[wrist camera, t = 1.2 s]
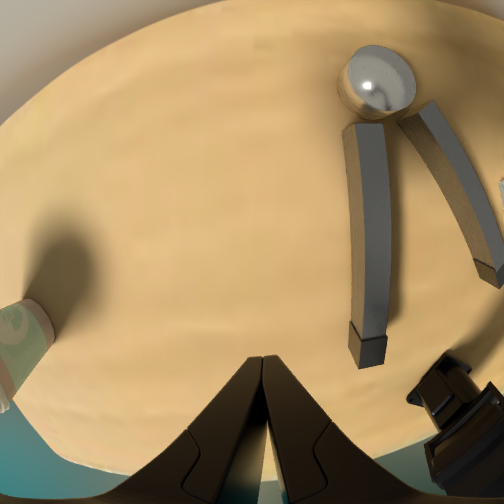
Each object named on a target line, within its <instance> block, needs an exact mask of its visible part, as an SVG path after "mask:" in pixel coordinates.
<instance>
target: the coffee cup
mask: <svg viewBox="0 0 504 504" xmlns="http://www.w3.org/2000/svg"><path fill="white" fill-rule="evenodd" d="M54 339H55V334H54V329H53V326H52V323H51V321H50V319H49V317H48V315H47V314H46V312H45V311H44V310H43V308H42V307H41V306H40V305H39V304H38V303H37V302H35V301H34V300H32V299H24V300H21V301H19V302H16V303H14V304H12V305H9V306H7V307H5V308H3V309H0V413H4V412H5V410H8V409H9V402H10V401H11V399H12V398H13V397H14V395H15V394H16V392H17V391H18V390H19V388H20V387H21V385H22V384H23V382H24V381H25V380H26V378H27V377H28V376H29V374H30V373H31V372H32V370H33V369H34V368H35V366H36V365H37V364H38V362H39V361H40V360H41V358H42V357H43V356H44V355H45V353H46V352H47V351H48V349H49V348H50V347H51V346H52V344H53V343H54Z"/></svg>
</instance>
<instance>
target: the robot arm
mask: <svg viewBox="0 0 504 504" xmlns="http://www.w3.org/2000/svg"><path fill="white" fill-rule="evenodd" d="M471 370H472V367H471V366H470V365H468V364H466V363H464V362H462V361H460V360H458V359H457V358H455V357H453V356H451V355H449V354H447V353H446V354H444V355H443V356H442V357H441V358H440V359H439V361H438V362H437V363H436V364H435V366H434V367H433V368H432V369H431V371H430V372H429V373H428V374H427V375H426V377H425V378H424V379H423V380H422V381H421V382H420V383H419V385H418V386H417V387H416V388H415V389H414V390H413V391H412V392H411V393H410V395H409V396H408V397H407V398H406V401H407V403H409V404H413V405H417V406H420V407H424V408H425V410H426V411H427V413H428V415H429V416H430V418H431V420H432V422H433V424H434V425H435V427H436V429H437V431H438V434H437V435H436V436H435V437H433V439H431V440H430V441H427V442H426V443H425V444H424V448H425V455H426V459H427V463H428V467H429V471H430V475H431V479H432V482H433V483H434V484H437V485H438V486H439V487H440V488H441V489H443V490H445V491H446V493H447V496H445V495H438V494H431V493H426V492H423V491H420V490H417V489H415V488H413V487H411V486H409V485H407V484H406V483H404V482H403V481H401V480H400V479H399V478H397V477H396V476H394V475H393V474H392V473H390V472H389V471H387V470H386V469H385V468H384V467H382V466H381V465H380V464H378V463H377V462H375V461H374V460H373V459H372V458H371V457H369V456H368V455H367V454H366V453H364V452H363V451H362V450H361V449H360V448H359V447H357V446H356V445H355V444H354V443H353V442H352V441H351V440H350V439H349V438H348V437H347V436H346V435H345V434H344V433H343V432H342V431H341V430H340V429H339V427H338V426H337V425H336V424H335V423H334V422H332V420H331V419H330V417H329V416H328V415H327V414H326V413H325V412H324V410H323V409H322V408H321V407H320V406H319V405H318V403H317V402H316V401H315V400H314V399H313V397H312V396H311V395H310V394H309V393H308V392H307V390H306V389H305V388H304V387H303V386H302V384H301V383H300V382H299V381H298V380H297V378H296V377H295V376H294V375H293V373H292V372H291V371H290V370H289V369H288V367H287V366H286V365H285V364H284V362H283V361H282V360H281V359H280V357H279V356H278V355H269V356H264V357H261V356H257V357H249V358H247V360H246V361H245V362H244V363H243V364H242V366H241V367H240V368H239V369H238V370H237V372H236V373H235V374H234V375H233V376H232V377H231V379H230V380H229V381H228V382H227V383H226V385H225V386H224V387H223V388H222V389H221V390H220V391H219V393H218V394H217V395H216V396H215V397H214V398H213V399H212V401H211V402H210V403H209V404H208V405H207V406H206V407H205V408H204V410H203V411H202V412H201V413H200V414H199V415H198V416H197V417H196V418H195V419H194V421H193V422H192V423H191V424H190V425H189V426H188V427H187V429H185V430H184V431H183V432H182V433H181V434H180V435H179V436H178V437H177V438H176V439H175V440H174V441H173V442H172V443H171V444H170V445H169V446H168V447H167V448H166V449H165V450H164V451H163V452H162V453H160V454H159V455H158V456H157V457H156V458H154V459H153V460H152V461H151V462H149V463H148V464H147V465H145V466H144V467H143V468H141V469H140V470H139V471H137V472H136V473H135V474H133V475H132V476H130V477H129V478H128V479H126V480H125V481H123V482H122V483H121V484H119V485H118V486H116V487H115V488H113V489H111V490H110V491H108V492H105V493H103V494H100V495H97V496H93V497H86V498H70V499H32V498H19V497H12V496H8V495H4V494H1V493H0V504H257V503H258V496H259V489H260V482H261V475H262V468H263V460H264V452H265V444H266V436H267V421H268V428H269V434H270V440H271V445H272V450H273V456H274V461H275V466H276V471H277V476H278V481H279V487H280V491H281V497H282V502H283V504H504V397H503V395H502V394H501V393H500V392H499V391H498V389H497V388H496V387H495V386H494V385H493V384H492V382H491V381H490V382H489V383H488V384H487V386H486V387H485V389H484V390H483V391H481V390H480V389H479V388H478V386H477V385H476V384H475V383H474V382H473V380H472V379H471V378H470V377H469V376H468V375H469V373H470V372H471ZM498 402H499V403H498ZM497 403H498V404H497Z"/></svg>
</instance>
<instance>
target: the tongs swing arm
mask: <svg viewBox="0 0 504 504" xmlns="http://www.w3.org/2000/svg"><path fill="white" fill-rule="evenodd" d="M337 90H338V93H339V96H340V98H341V100H342V102H343V103H344V104H345V106H346V107H347V108H348V109H349V110H350V111H352V112H353V113H354V114H356V115H358V116H360V117H362V118H365V119H370V120H377V119H381V118H384V117H386V116H388V115H390V114H392V113H395V112H397V111H399V110H401V109H403V108H405V107H407V106H408V105H410V104H411V103H412V101H413V100H414V97H415V94H416V81H415V78H414V75H413V72H412V71H411V69H410V67H409V66H408V64H407V63H406V62H405V61H404V60H403V59H402V58H401V57H400V56H399V55H398V54H396V53H395V52H393V51H392V50H390V49H387V48H385V47H382V46H376V45H370V46H365V47H362V48H360V49H359V50H358V51H356V53H355V54H354V55H353V56H352V58H351V59H350V60H349V62H348V63H347V64H346V65H345V67H344V68H343V69H342V71H341V72H340V74H339V76H338V79H337ZM342 139H343V146H344V154H345V163H346V173H347V183H348V195H349V210H350V228H351V258H352V298H351V321H350V323H349V343H348V347H349V350H350V352H351V354H352V356H353V358H354V361H355V363H356V365H357V367H358V369H363V368H368V367H373V366H377V365H382V364H384V360H385V353H386V347H387V340H388V337H387V335H386V328H387V319H388V308H389V296H390V279H391V246H392V233H391V200H390V183H389V171H388V161H387V152H386V143H385V136H384V129H383V124H370V123H354V124H353V125H351V126H349V127H347V128H346V129H344V130H342Z"/></svg>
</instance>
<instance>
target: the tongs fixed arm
mask: <svg viewBox="0 0 504 504" xmlns="http://www.w3.org/2000/svg"><path fill="white" fill-rule="evenodd" d="M397 122H398V124H399V125H400V126H401V128H402V129H403V130H404V132H405V133H406V135H407V136H408V137H409V139H410V140H411V142H412V143H413V145H414V146H415V148H416V149H417V151H418V152H419V154H420V155H421V157H422V158H423V160H424V162H425V163H426V165H427V166H428V168H429V170H430V171H431V173H432V175H433V176H434V178H435V180H436V182H437V183H438V185H439V187H440V189H441V191H442V192H443V194H444V196H445V198H446V200H447V202H448V204H449V206H450V208H451V210H452V212H453V214H454V216H455V218H456V220H457V222H458V224H459V226H460V228H461V231H462V233H463V235H464V237H465V240H466V242H467V244H468V247H469V249H470V252H471V254H472V257H473V260H474V263H475V266H476V268H477V271H478V274H479V277H480V278H481V279H483V280H484V281H486V282H488V283H489V284H491V285H493V286H494V287H496V288H498V289H500V288H501V287H502V286H503V284H504V244H503V241H502V238H501V235H500V232H499V229H498V226H497V223H496V220H495V217H494V215H493V212H492V209H491V207H490V204H489V202H488V199H487V197H486V195H485V192H484V190H483V188H482V185H481V183H480V181H479V179H478V177H477V175H476V172H475V170H474V168H473V166H472V164H471V162H470V160H469V159H468V157H467V155H466V153H465V151H464V149H463V147H462V146H461V144H460V142H459V140H458V139H457V137H456V135H455V133H454V132H453V130H452V128H451V127H450V125H449V124H448V122H447V120H446V119H445V117H444V116H443V114H442V113H441V111H440V110H439V108H438V107H437V105H436V104H435V103H434V101H433V100H432V101H430V102H427V103H425V104H422V105H420V106H417V107H415V108H412V109H410V110H409V111H408V112H407V113H406V114H404V115H403V116H402V117H401V118H400V119H398V120H397Z"/></svg>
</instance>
